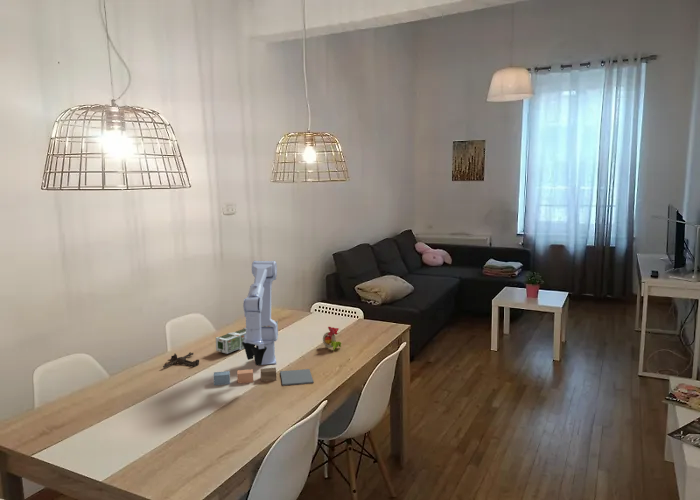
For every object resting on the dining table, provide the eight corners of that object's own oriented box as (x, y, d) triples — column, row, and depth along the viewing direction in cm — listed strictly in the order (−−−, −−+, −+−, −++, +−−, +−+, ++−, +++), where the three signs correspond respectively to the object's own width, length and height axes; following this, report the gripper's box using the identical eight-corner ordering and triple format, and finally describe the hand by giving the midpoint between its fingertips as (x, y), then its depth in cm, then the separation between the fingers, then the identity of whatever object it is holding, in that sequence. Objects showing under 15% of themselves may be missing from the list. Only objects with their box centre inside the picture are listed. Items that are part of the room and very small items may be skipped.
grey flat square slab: (280, 372, 213) (280, 371, 213) (309, 370, 216) (309, 368, 216) (282, 385, 201) (282, 384, 201) (313, 383, 203) (313, 381, 203)
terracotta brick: (237, 380, 207) (237, 370, 206) (253, 378, 208) (252, 369, 207) (237, 383, 203) (237, 373, 203) (253, 382, 204) (253, 372, 204)
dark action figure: (181, 367, 212) (154, 358, 218) (181, 377, 213) (154, 368, 219) (210, 353, 228) (185, 345, 234) (210, 362, 229) (184, 354, 235)
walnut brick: (260, 378, 208) (260, 368, 208) (275, 377, 210) (275, 367, 209) (261, 381, 205) (260, 372, 204) (276, 380, 206) (276, 370, 205)
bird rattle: (323, 354, 240) (338, 350, 235) (315, 331, 241) (330, 326, 236) (330, 350, 245) (345, 346, 240) (322, 328, 246) (337, 323, 241)
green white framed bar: (265, 332, 265) (265, 318, 264) (278, 335, 261) (277, 320, 260) (213, 352, 236) (213, 337, 235) (227, 356, 232) (226, 340, 230)
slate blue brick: (214, 381, 205) (213, 372, 204) (230, 380, 206) (229, 371, 205) (213, 385, 201) (213, 375, 201) (229, 384, 203) (229, 374, 202)
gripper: (236, 325, 203) (237, 358, 205) (251, 334, 192) (252, 369, 193) (253, 322, 207) (254, 355, 209) (269, 331, 196) (269, 365, 197)
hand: (254, 361), depth 202 cm, fingers open, 7 cm apart
